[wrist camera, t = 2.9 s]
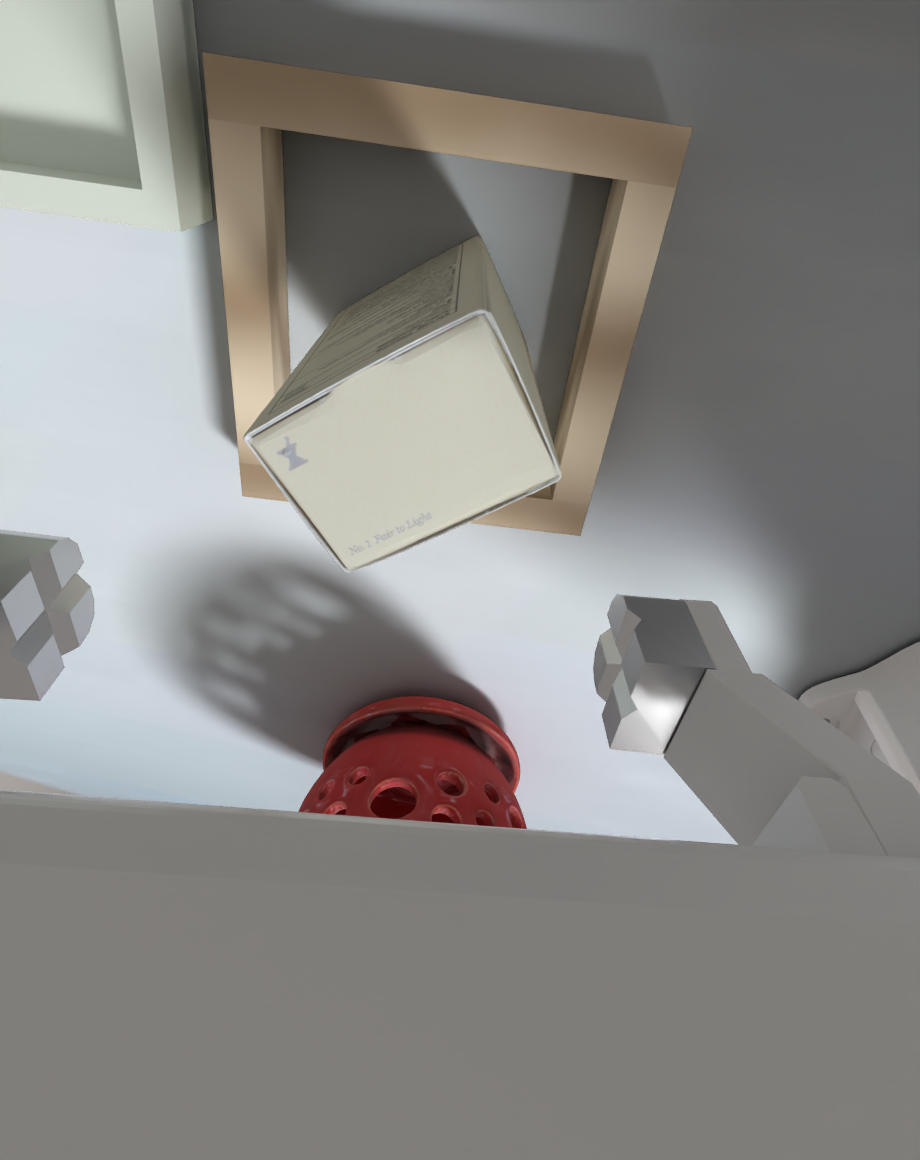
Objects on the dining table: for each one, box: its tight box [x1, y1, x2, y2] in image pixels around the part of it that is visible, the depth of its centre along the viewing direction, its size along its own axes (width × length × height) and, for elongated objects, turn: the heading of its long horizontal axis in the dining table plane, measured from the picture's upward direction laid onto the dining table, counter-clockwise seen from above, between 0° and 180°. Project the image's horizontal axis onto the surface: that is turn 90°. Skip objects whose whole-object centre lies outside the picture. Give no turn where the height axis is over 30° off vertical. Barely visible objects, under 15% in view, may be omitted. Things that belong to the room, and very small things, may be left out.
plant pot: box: [299, 696, 527, 829], centre depth 34 cm, size 13×13×12 cm
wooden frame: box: [202, 52, 693, 536], centre depth 23 cm, size 14×14×2 cm
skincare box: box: [243, 236, 562, 573], centre depth 19 cm, size 6×4×12 cm
